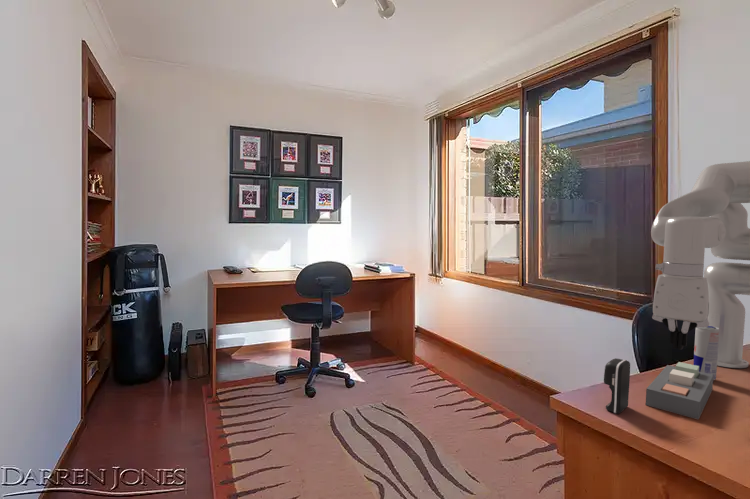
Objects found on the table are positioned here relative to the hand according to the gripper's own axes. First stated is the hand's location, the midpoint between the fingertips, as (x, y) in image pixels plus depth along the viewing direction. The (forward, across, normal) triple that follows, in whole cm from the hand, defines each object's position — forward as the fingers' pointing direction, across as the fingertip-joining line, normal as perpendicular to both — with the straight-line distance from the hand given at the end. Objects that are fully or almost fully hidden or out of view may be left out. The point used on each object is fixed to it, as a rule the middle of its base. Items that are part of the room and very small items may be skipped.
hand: (678, 347), depth 96 cm
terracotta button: (+13, 0, -1) cm, 13 cm away
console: (+14, 0, +8) cm, 16 cm away
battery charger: (+14, -10, -12) cm, 21 cm away
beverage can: (+15, +2, +27) cm, 31 cm away
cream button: (+11, 0, +8) cm, 14 cm away
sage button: (+12, 0, +16) cm, 19 cm away
